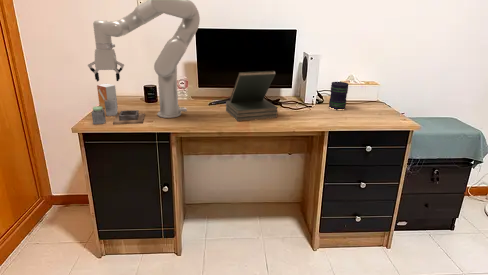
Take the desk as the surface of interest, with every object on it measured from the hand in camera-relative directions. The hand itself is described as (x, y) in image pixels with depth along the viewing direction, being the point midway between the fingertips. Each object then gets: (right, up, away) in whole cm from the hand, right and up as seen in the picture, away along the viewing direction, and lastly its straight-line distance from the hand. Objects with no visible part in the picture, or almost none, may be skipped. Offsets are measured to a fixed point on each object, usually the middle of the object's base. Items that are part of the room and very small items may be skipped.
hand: (107, 80), depth 177 cm
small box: (-7, -12, +19) cm, 23 cm away
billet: (0, -17, +6) cm, 18 cm away
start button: (-2, -21, -6) cm, 22 cm away
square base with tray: (+11, -20, -1) cm, 23 cm away
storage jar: (+126, -12, +28) cm, 129 cm away
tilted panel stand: (+74, -17, +13) cm, 77 cm away
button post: (-2, -22, -6) cm, 23 cm away
